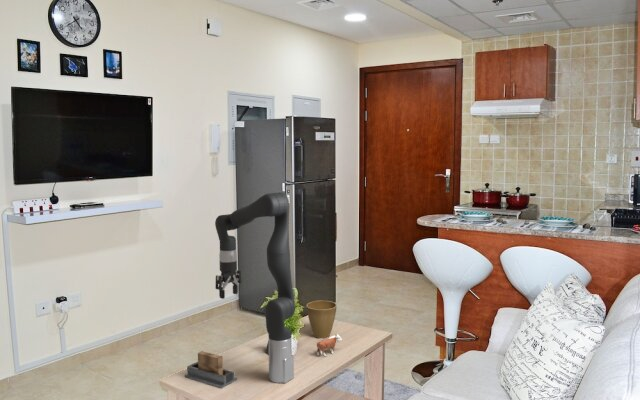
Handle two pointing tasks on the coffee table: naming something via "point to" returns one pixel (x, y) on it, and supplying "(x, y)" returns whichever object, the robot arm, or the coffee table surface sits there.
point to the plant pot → (321, 317)
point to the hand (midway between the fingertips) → (228, 296)
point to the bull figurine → (328, 344)
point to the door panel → (210, 362)
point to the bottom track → (210, 376)
